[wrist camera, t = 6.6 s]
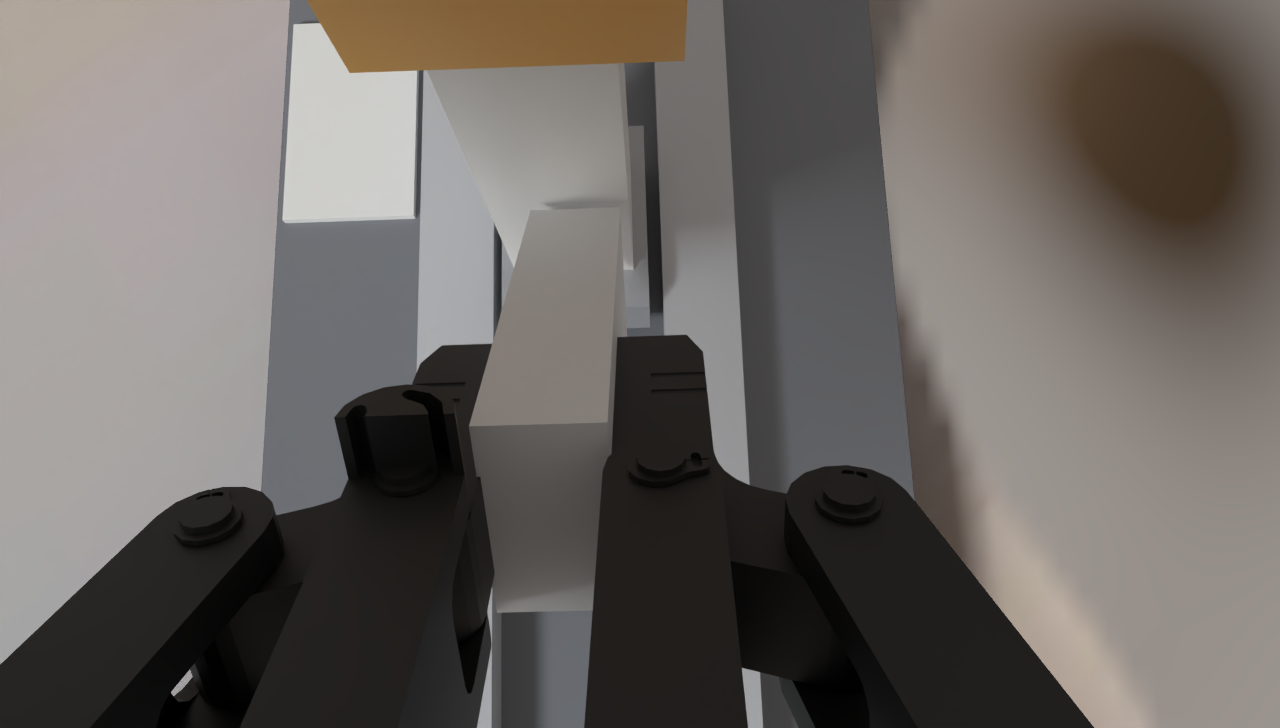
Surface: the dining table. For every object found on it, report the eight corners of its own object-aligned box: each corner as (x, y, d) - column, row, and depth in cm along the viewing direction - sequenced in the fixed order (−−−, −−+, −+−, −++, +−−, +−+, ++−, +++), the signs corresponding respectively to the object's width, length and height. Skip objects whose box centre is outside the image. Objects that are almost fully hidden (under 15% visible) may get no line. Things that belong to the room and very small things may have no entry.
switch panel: (331, 42, 27) (272, -58, 23) (840, 23, 27) (873, -80, 23) (279, 1130, 21) (187, 1260, 17) (935, 1114, 21) (1002, 1241, 17)
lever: (491, 163, 22) (304, -317, 11) (666, 157, 22) (676, -333, 10) (490, 332, 21) (285, 14, 10) (672, 326, 21) (692, -2, 10)
